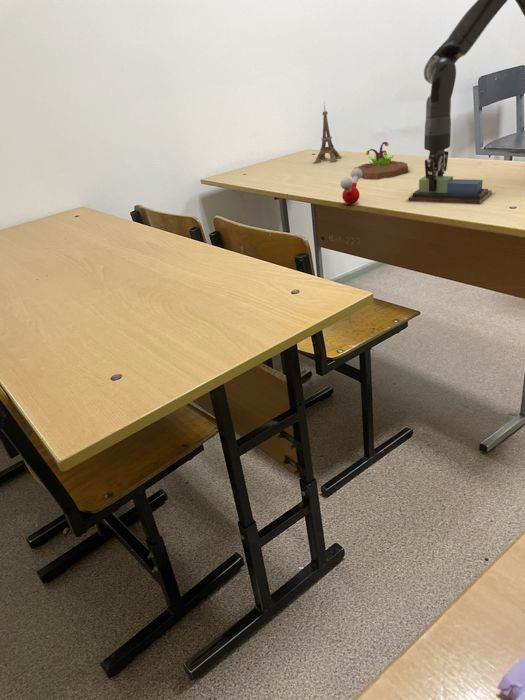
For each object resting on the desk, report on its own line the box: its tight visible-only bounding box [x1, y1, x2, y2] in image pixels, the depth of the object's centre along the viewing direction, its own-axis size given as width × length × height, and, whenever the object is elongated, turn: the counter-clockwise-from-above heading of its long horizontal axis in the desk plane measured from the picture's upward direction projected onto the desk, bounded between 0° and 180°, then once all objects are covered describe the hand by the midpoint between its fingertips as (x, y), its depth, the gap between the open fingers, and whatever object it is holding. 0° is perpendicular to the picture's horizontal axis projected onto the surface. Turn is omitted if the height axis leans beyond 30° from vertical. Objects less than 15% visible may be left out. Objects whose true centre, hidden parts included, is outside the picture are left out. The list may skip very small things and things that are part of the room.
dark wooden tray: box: [408, 188, 493, 205], centre depth 166 cm, size 22×12×2 cm, turn 54°
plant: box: [353, 141, 409, 180], centre depth 207 cm, size 20×20×11 cm
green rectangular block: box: [418, 175, 454, 193], centre depth 167 cm, size 9×5×4 cm, turn 54°
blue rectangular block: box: [447, 178, 484, 195], centre depth 163 cm, size 9×5×4 cm, turn 54°
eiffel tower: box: [313, 102, 343, 164], centre depth 240 cm, size 11×11×25 cm
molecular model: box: [340, 167, 363, 205], centre depth 172 cm, size 18×6×10 cm, turn 165°
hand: (435, 188), depth 168 cm, fingers closed on green rectangular block, 5 cm apart
